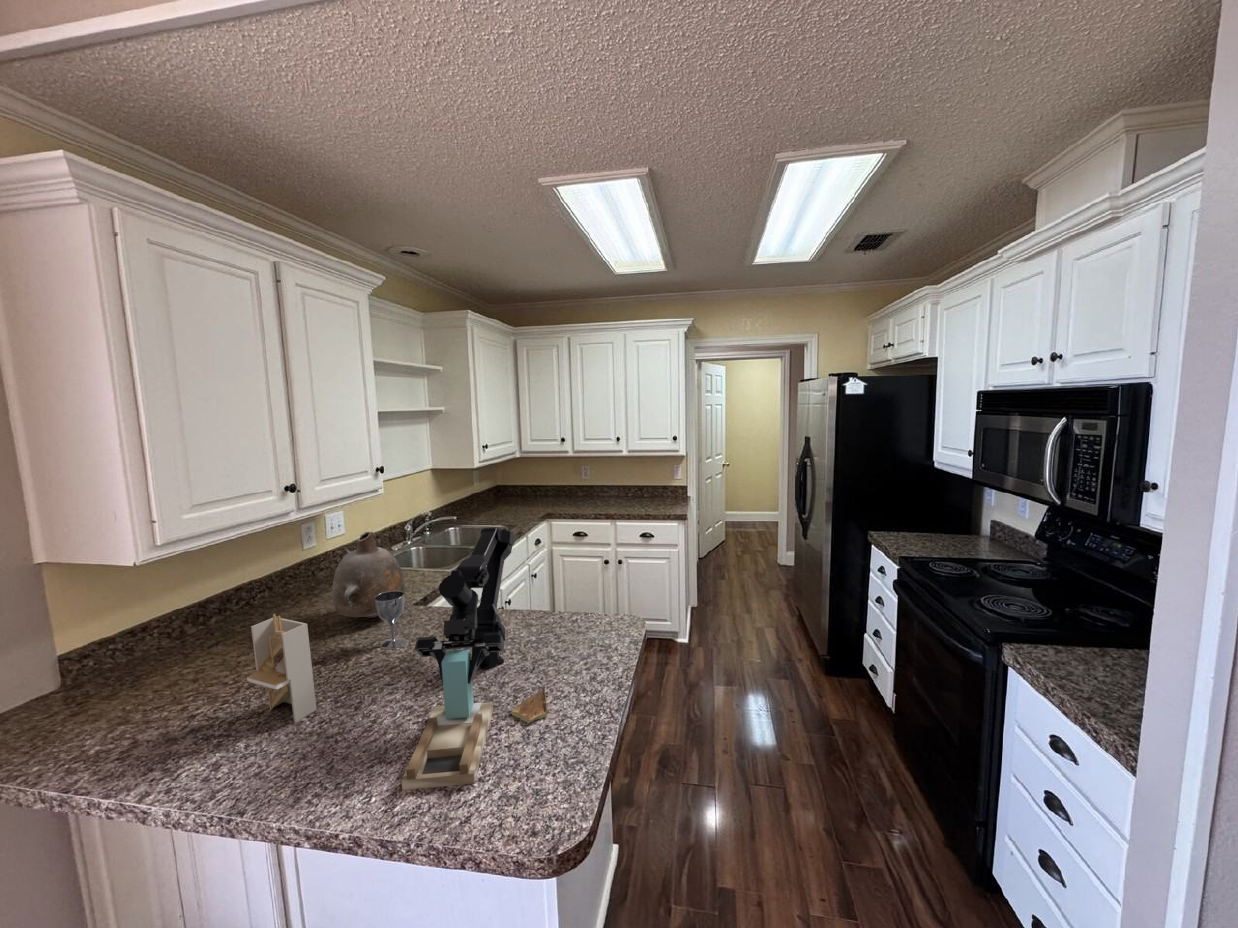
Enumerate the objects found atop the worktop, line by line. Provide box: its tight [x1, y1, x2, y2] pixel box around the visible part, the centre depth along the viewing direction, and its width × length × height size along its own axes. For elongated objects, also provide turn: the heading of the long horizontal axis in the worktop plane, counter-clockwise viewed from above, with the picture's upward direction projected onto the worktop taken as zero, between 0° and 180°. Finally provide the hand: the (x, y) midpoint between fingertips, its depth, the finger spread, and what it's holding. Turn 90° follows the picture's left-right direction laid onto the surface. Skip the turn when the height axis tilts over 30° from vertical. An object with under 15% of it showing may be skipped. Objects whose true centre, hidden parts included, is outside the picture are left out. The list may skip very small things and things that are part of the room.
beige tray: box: [401, 701, 494, 791], centre depth 101 cm, size 22×13×4 cm, turn 6°
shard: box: [511, 687, 548, 724], centre depth 113 cm, size 11×8×2 cm
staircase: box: [246, 613, 317, 723], centre depth 112 cm, size 8×12×26 cm
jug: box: [332, 531, 406, 619], centre depth 162 cm, size 24×21×30 cm
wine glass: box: [375, 590, 407, 650], centre depth 145 cm, size 8×8×15 cm
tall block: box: [442, 648, 475, 719], centre depth 108 cm, size 5×5×13 cm
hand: (456, 684), depth 106 cm, fingers closed on tall block, 5 cm apart
